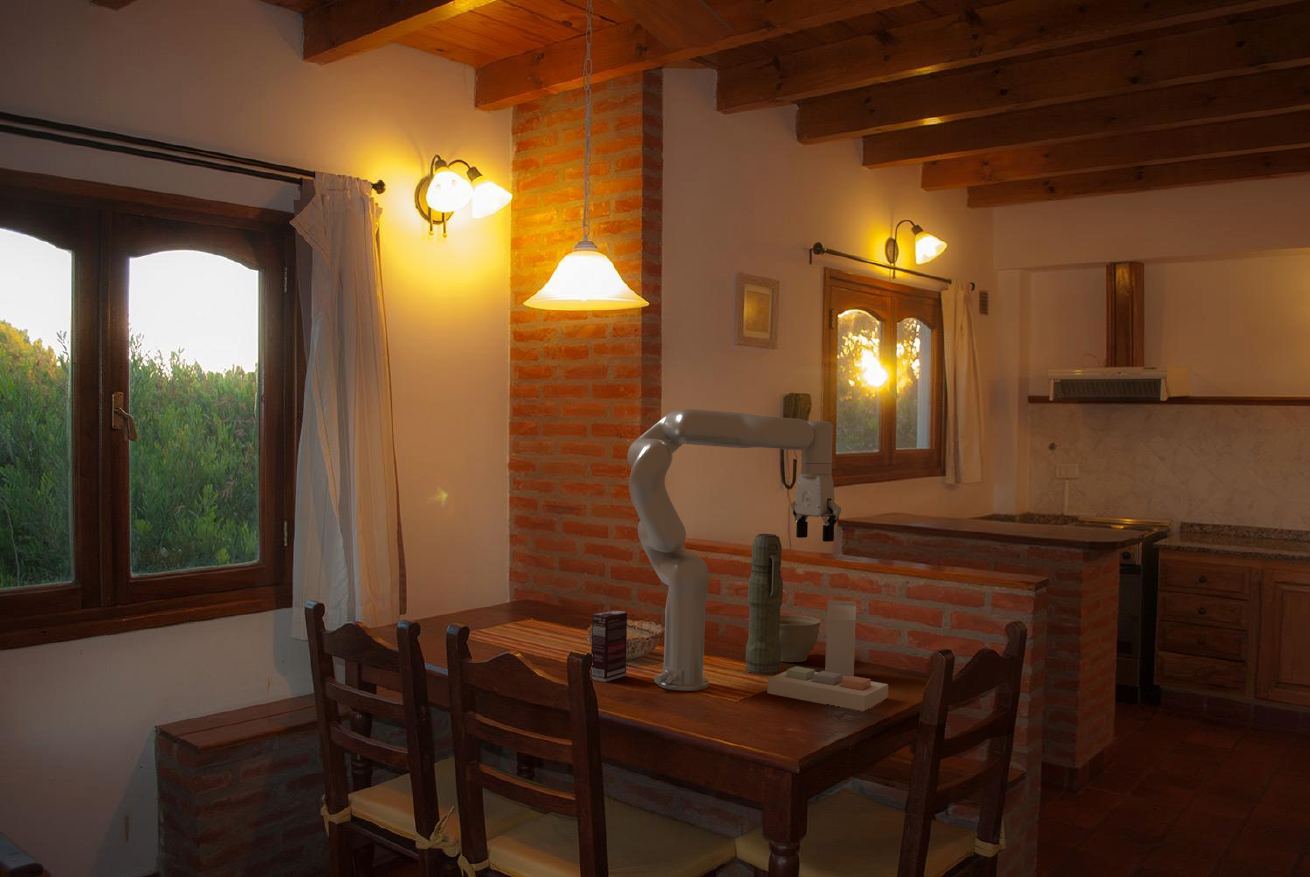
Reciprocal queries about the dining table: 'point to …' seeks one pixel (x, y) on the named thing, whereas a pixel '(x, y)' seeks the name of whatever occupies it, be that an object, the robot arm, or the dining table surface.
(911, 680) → the dining table surface
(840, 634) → the milk carton
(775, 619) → the thermos
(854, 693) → the keypad
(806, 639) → the planter bowl
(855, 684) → the terracotta key
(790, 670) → the sage key
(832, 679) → the grey key
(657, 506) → the robot arm
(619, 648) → the supplement box
